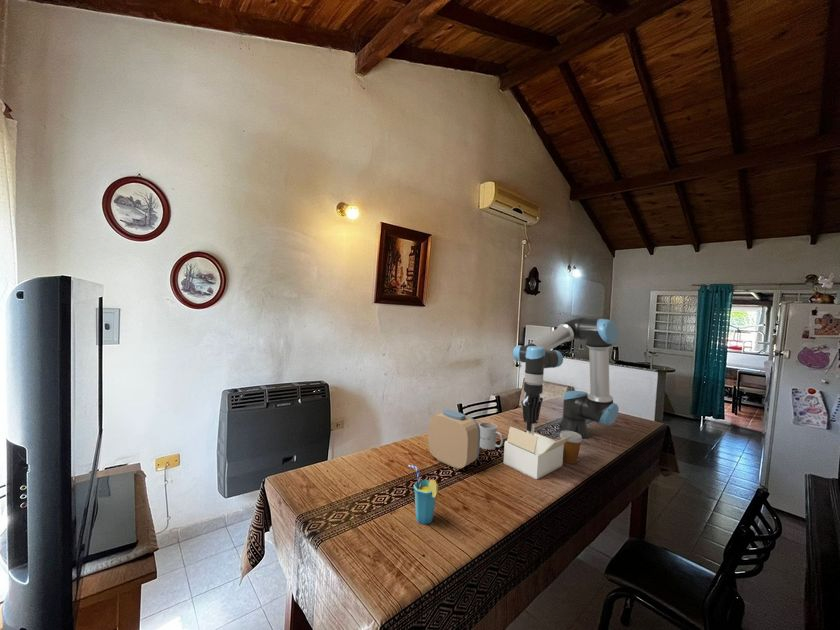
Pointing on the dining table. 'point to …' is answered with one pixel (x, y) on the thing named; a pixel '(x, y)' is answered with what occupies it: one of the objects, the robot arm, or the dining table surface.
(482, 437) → the mug
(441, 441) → the alarm clock
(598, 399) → the robot arm
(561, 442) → the long flap
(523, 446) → the short flap
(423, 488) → the cup
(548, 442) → the carton
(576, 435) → the disposable coffee cup
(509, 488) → the dining table surface
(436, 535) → the dining table surface
